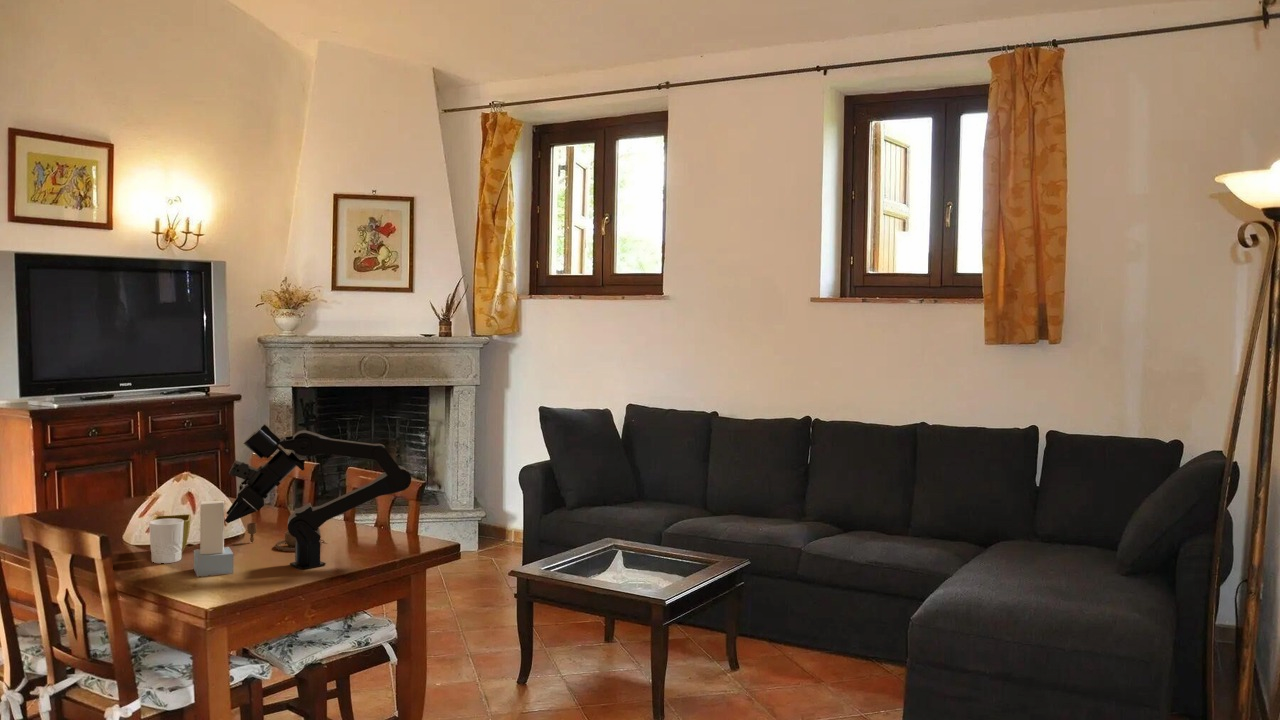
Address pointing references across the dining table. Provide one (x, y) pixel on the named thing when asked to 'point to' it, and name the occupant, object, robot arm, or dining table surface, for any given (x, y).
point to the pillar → (211, 527)
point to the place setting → (288, 540)
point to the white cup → (166, 540)
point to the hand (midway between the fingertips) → (227, 518)
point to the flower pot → (185, 528)
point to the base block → (213, 563)
